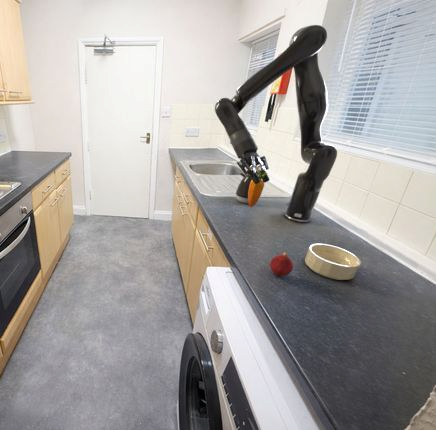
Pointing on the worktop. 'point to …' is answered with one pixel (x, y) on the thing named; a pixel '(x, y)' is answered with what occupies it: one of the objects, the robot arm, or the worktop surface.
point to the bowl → (332, 261)
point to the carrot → (255, 190)
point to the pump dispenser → (243, 188)
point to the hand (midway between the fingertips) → (262, 182)
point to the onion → (281, 265)
